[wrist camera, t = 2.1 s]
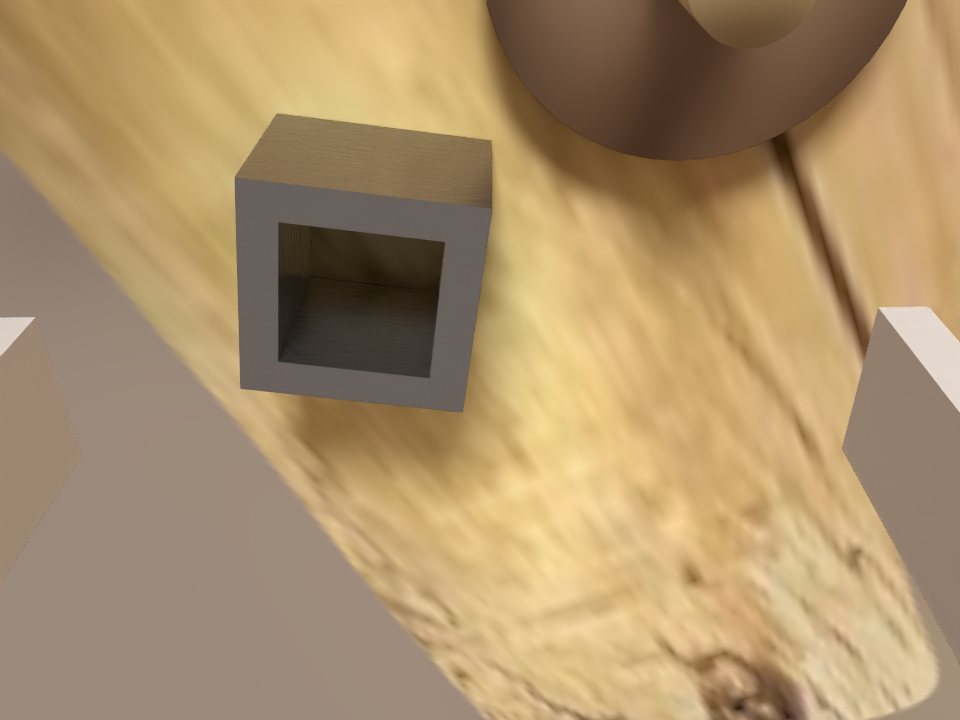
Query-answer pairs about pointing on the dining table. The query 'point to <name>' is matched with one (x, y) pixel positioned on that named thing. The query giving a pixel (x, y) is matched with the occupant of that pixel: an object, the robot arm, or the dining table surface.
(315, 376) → the hollow square box
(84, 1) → the dining table surface
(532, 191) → the dining table surface
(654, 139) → the round base with post
